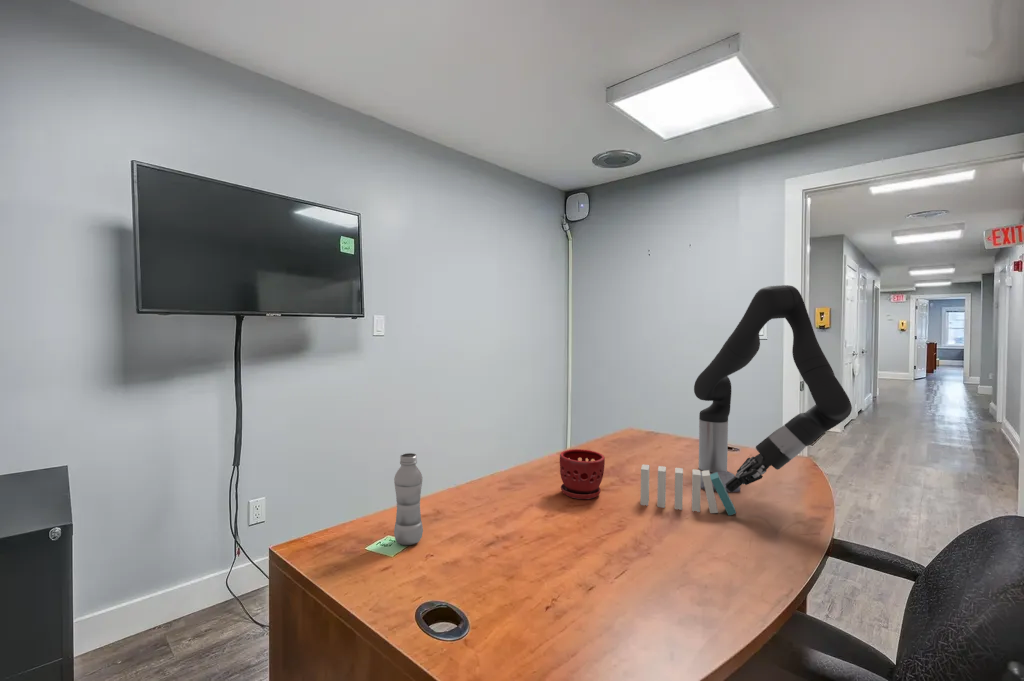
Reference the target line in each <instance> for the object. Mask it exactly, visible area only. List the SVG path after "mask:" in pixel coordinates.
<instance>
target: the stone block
mask: <svg viewBox="0 0 1024 681" xmlns="http://www.w3.org/2000/svg"><path fill="white" fill-rule="evenodd" d="M700 473H701V489H702V490H705V487H704V482H703V477H702V471H700ZM714 473H716V472H714ZM717 473H718V475H719V477H720V479H721V481H722V483H723V485H724V487H725V489H726V491H727V493H731V492H730V491H729V490H728V489H727V488H726V485H725V484H726V483H727V482H729V481H730V480H731V479H732V478H734V477H735V474H734V473H732V472H731V471H728V470H727V471H721V472H717ZM710 474H713V472H710ZM712 486H713V490H714V491H716V489H715V487H714V485H713V483H712ZM738 492H741V486H739V487H738V488H737V489H735V490H734V491H733V492H732V493H738Z"/></svg>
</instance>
